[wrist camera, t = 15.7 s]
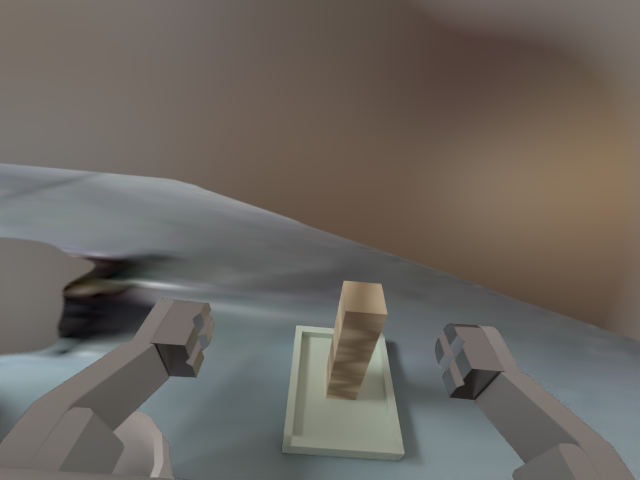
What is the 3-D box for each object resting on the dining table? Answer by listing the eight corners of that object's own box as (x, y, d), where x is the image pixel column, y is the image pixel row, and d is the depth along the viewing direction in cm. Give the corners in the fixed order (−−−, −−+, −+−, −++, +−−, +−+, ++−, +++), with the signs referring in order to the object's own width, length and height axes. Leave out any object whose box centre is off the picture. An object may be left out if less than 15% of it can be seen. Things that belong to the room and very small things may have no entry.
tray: (281, 452, 33) (282, 445, 31) (295, 334, 46) (296, 325, 44) (398, 461, 33) (404, 454, 32) (380, 341, 46) (383, 332, 44)
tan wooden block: (325, 397, 37) (345, 311, 26) (326, 368, 40) (343, 280, 29) (355, 400, 37) (387, 314, 26) (353, 371, 40) (381, 284, 30)
